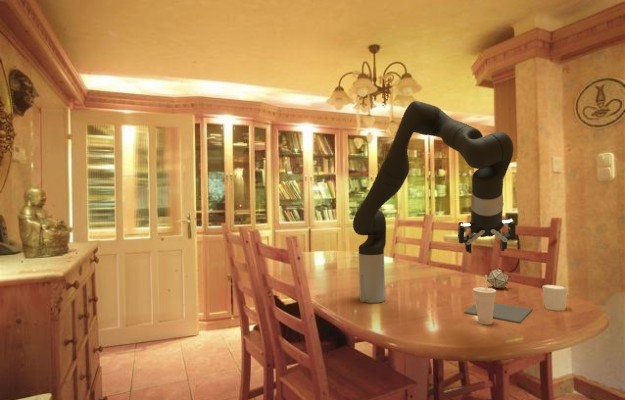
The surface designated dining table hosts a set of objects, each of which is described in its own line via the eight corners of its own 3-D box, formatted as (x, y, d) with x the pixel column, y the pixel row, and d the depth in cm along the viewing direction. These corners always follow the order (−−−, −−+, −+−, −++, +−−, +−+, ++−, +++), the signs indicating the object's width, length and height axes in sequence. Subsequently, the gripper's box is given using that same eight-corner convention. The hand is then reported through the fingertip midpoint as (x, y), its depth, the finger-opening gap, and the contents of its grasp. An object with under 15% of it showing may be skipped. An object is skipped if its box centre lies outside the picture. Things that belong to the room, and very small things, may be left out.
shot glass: (560, 312, 116) (559, 290, 116) (538, 307, 122) (537, 286, 122) (572, 309, 119) (571, 287, 119) (550, 304, 125) (549, 283, 125)
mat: (519, 323, 107) (519, 321, 107) (464, 313, 118) (464, 311, 118) (532, 310, 119) (532, 308, 119) (480, 301, 130) (480, 300, 130)
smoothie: (496, 327, 104) (494, 278, 104) (471, 323, 108) (470, 276, 108) (498, 320, 110) (497, 274, 110) (475, 317, 113) (473, 272, 113)
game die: (503, 298, 146) (516, 281, 141) (482, 290, 148) (493, 273, 142) (502, 283, 154) (513, 266, 148) (481, 275, 155) (492, 259, 149)
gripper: (512, 194, 97) (509, 239, 106) (455, 199, 100) (456, 243, 109) (521, 211, 91) (516, 258, 100) (459, 217, 94) (460, 261, 104)
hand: (485, 250), depth 105 cm, fingers open, 8 cm apart
